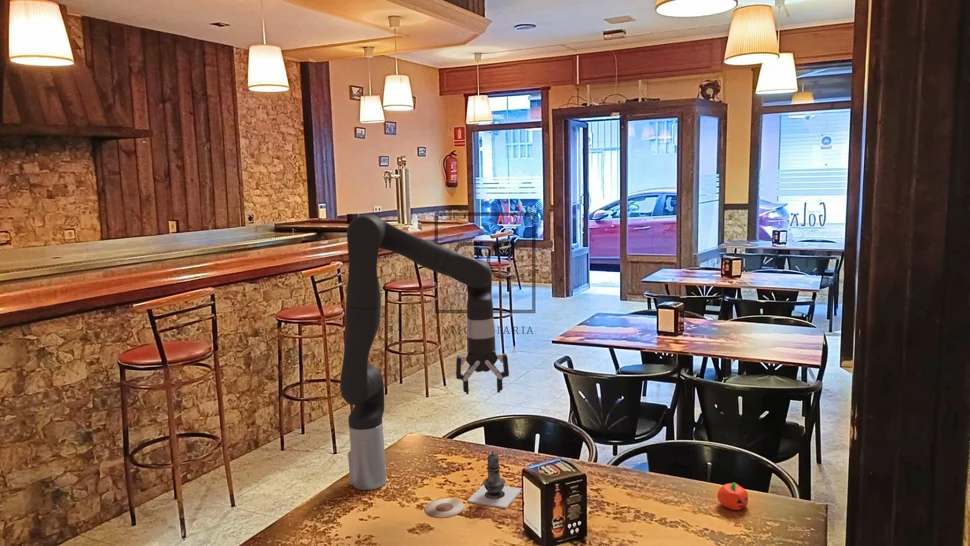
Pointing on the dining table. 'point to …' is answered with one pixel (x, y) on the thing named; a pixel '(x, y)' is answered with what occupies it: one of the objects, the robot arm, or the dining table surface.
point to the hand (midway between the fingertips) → (483, 392)
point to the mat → (501, 502)
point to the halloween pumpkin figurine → (733, 496)
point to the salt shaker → (494, 479)
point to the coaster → (444, 508)
